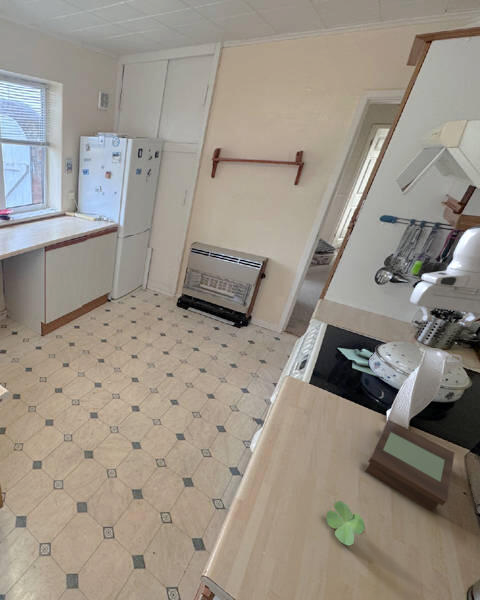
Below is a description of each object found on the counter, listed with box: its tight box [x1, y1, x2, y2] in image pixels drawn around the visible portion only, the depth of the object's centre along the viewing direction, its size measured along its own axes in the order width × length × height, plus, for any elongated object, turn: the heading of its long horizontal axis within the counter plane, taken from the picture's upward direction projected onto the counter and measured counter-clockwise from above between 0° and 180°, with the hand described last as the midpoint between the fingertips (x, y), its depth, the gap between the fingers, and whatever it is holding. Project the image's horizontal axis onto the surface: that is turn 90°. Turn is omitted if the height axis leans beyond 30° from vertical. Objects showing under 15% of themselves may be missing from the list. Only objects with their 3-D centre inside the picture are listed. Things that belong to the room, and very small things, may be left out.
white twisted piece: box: [385, 347, 463, 430], centre depth 96 cm, size 8×8×28 cm
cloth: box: [337, 347, 379, 378], centre depth 130 cm, size 20×22×2 cm
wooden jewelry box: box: [364, 420, 455, 512], centre depth 86 cm, size 22×14×5 cm, turn 129°
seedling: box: [326, 500, 366, 547], centre depth 71 cm, size 7×8×6 cm
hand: (445, 323), depth 99 cm, fingers open, 8 cm apart
